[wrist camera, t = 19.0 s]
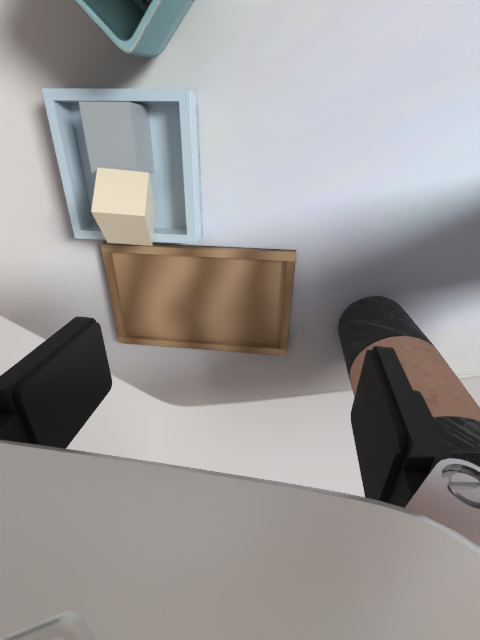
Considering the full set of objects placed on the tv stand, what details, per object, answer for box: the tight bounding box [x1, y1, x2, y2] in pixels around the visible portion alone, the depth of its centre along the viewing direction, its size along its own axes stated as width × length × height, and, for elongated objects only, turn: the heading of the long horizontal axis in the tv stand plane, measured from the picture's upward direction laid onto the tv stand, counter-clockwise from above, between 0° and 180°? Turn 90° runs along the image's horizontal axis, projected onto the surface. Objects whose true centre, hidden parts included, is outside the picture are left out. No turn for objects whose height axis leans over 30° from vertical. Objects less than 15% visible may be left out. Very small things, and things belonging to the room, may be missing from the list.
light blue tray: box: [41, 88, 203, 244], centre depth 30 cm, size 12×12×3 cm
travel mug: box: [338, 297, 480, 467], centre depth 27 cm, size 8×8×20 cm
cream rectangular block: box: [91, 167, 156, 246], centre depth 28 cm, size 4×4×5 cm
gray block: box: [79, 101, 155, 173], centre depth 28 cm, size 4×4×5 cm
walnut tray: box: [100, 241, 296, 356], centre depth 36 cm, size 20×12×1 cm, turn 89°
